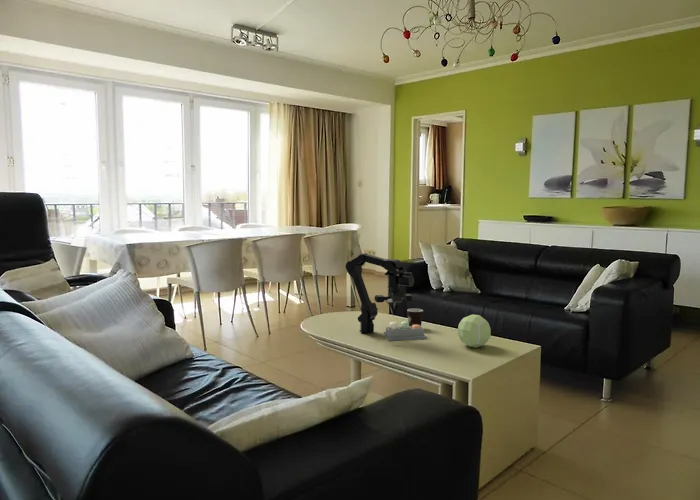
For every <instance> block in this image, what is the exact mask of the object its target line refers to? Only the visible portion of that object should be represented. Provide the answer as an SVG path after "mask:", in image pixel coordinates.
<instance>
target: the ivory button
mask: <svg viewBox="0 0 700 500" xmlns="http://www.w3.org/2000/svg"><path fill="white" fill-rule="evenodd" d="M389 327H390V330H397V327H398V322H397V321H390V322H389Z"/></svg>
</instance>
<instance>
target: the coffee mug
mask: <svg viewBox="0 0 700 500" xmlns="http://www.w3.org/2000/svg"><path fill="white" fill-rule="evenodd" d="M423 313H424V310H423V309H421V308H408V309H407V311H406V314H407V322H409V326H412V325H420V326H421V327H422V321H423V315H424V314H423Z"/></svg>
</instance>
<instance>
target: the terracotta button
mask: <svg viewBox="0 0 700 500" xmlns="http://www.w3.org/2000/svg"><path fill="white" fill-rule="evenodd" d="M412 328H413V329H420V325H412Z"/></svg>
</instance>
